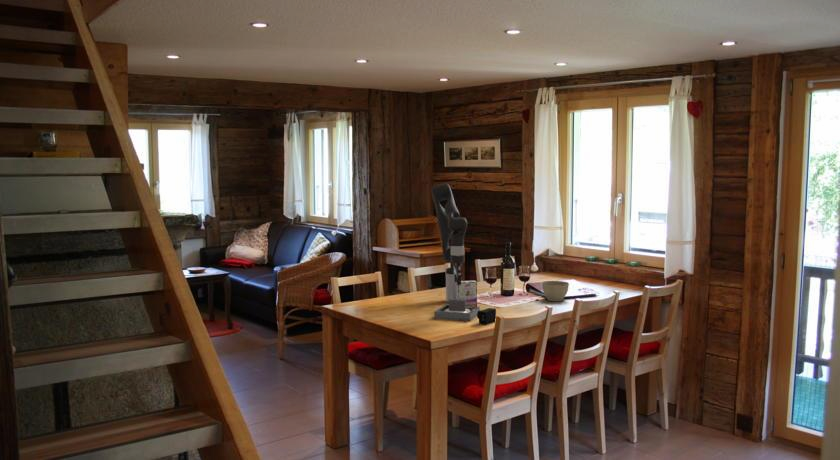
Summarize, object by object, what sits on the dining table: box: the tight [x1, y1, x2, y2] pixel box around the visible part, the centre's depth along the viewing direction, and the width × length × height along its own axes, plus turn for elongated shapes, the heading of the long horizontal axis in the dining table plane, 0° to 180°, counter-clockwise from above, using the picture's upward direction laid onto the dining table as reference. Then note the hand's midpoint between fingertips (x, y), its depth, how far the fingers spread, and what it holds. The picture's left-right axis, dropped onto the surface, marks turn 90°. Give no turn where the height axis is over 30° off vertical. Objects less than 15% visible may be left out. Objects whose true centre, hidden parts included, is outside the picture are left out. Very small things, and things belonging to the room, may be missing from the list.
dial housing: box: [433, 303, 481, 322], centre depth 383 cm, size 20×20×4 cm
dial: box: [445, 299, 470, 313], centre depth 382 cm, size 14×14×7 cm
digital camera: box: [476, 307, 497, 326], centre depth 367 cm, size 10×5×7 cm, turn 143°
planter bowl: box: [541, 280, 570, 302], centre depth 426 cm, size 16×16×11 cm
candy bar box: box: [457, 280, 478, 307], centre depth 400 cm, size 11×5×16 cm, turn 101°
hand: (457, 283), depth 381 cm, fingers open, 8 cm apart
